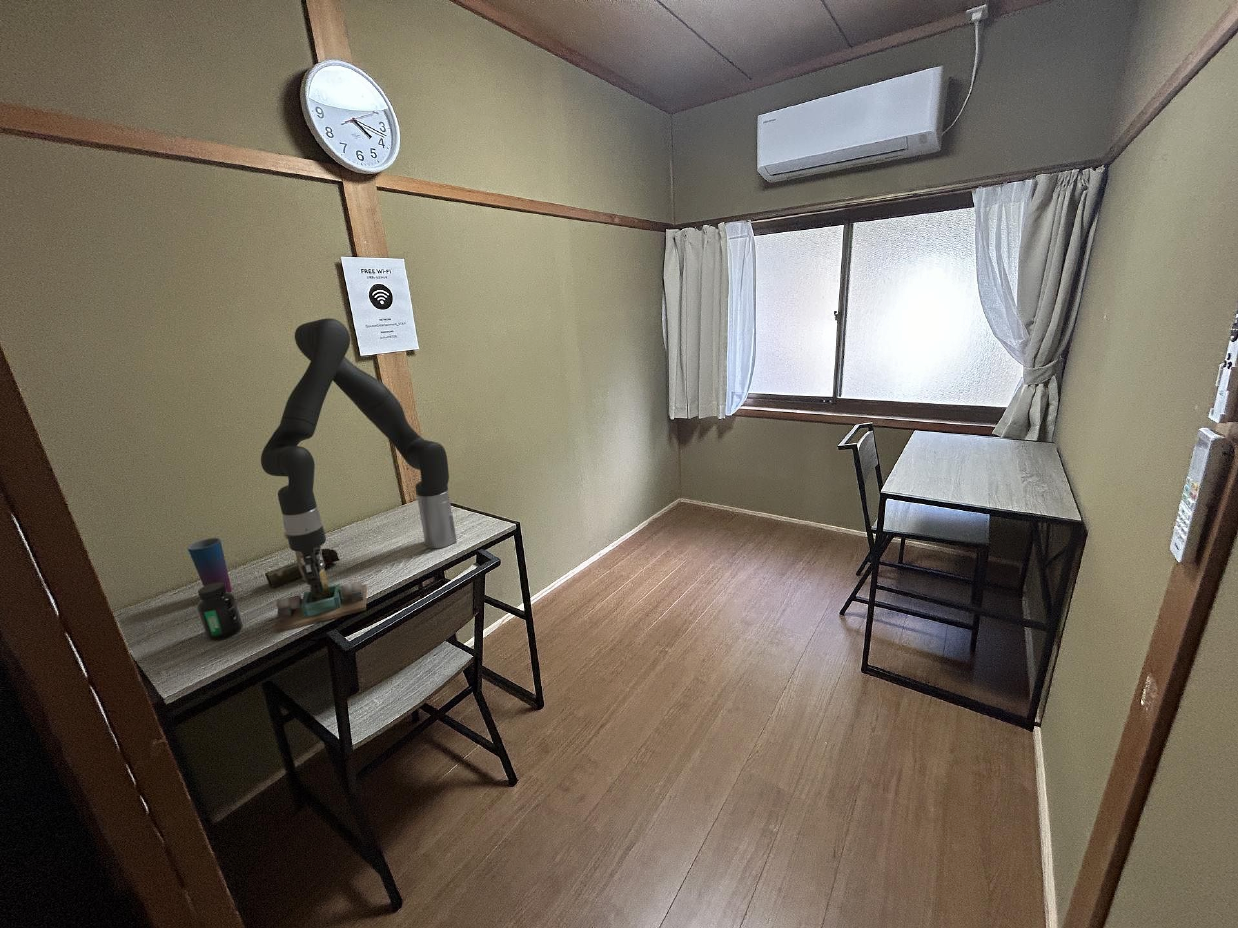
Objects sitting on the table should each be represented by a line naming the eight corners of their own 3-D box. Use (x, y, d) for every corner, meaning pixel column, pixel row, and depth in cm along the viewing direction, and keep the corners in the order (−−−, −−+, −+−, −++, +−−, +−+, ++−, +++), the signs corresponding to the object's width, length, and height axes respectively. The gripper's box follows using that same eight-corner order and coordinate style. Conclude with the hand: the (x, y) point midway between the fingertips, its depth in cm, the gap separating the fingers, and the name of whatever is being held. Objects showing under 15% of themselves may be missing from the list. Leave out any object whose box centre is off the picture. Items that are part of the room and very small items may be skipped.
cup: (201, 603, 130) (183, 551, 126) (207, 591, 136) (191, 541, 132) (233, 596, 133) (217, 545, 129) (238, 584, 139) (222, 535, 135)
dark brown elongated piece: (273, 590, 136) (267, 572, 134) (266, 582, 140) (261, 564, 139) (342, 565, 148) (338, 548, 146) (334, 558, 152) (330, 541, 151)
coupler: (333, 592, 128) (324, 557, 125) (331, 601, 124) (323, 565, 121) (312, 597, 126) (303, 562, 123) (310, 606, 122) (301, 570, 119)
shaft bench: (366, 587, 135) (363, 570, 133) (365, 610, 124) (361, 592, 123) (284, 606, 127) (279, 589, 126) (276, 632, 117) (270, 614, 116)
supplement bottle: (222, 643, 114) (206, 597, 110) (200, 639, 116) (184, 593, 112) (250, 625, 120) (236, 581, 117) (229, 621, 122) (214, 578, 118)
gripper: (319, 535, 114) (335, 600, 120) (324, 513, 127) (339, 573, 132) (280, 542, 112) (298, 609, 117) (290, 519, 124) (306, 580, 129)
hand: (320, 589), depth 124 cm, fingers open, 4 cm apart
